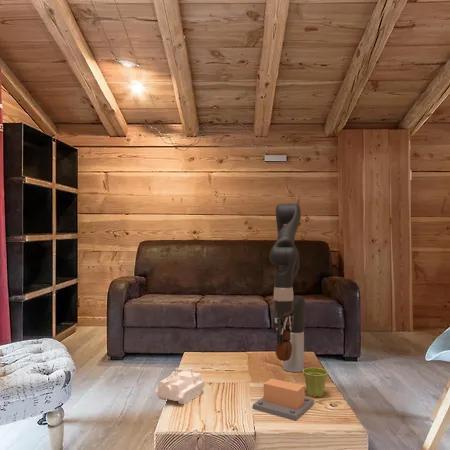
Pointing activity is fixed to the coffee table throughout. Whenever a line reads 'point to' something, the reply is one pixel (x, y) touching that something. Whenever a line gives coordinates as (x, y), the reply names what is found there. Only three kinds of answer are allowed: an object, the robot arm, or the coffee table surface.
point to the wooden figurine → (284, 347)
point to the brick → (284, 393)
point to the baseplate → (283, 408)
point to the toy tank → (180, 386)
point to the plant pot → (315, 381)
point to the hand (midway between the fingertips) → (283, 341)
